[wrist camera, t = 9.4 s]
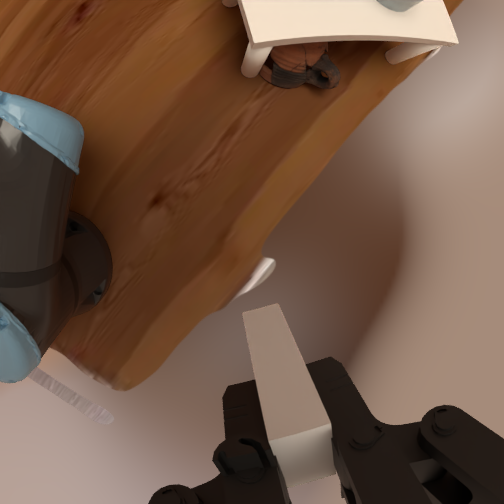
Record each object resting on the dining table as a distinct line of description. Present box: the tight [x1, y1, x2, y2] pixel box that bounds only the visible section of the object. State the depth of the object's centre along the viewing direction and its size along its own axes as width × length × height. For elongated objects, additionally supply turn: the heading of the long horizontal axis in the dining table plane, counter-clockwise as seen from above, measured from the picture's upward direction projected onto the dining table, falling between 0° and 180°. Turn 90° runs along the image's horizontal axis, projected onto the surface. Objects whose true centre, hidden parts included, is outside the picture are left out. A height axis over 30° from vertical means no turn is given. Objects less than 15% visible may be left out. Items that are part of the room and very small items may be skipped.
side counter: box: [222, 0, 459, 78], centre depth 27 cm, size 25×14×14 cm, turn 104°
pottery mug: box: [260, 41, 340, 89], centre depth 33 cm, size 12×10×8 cm
